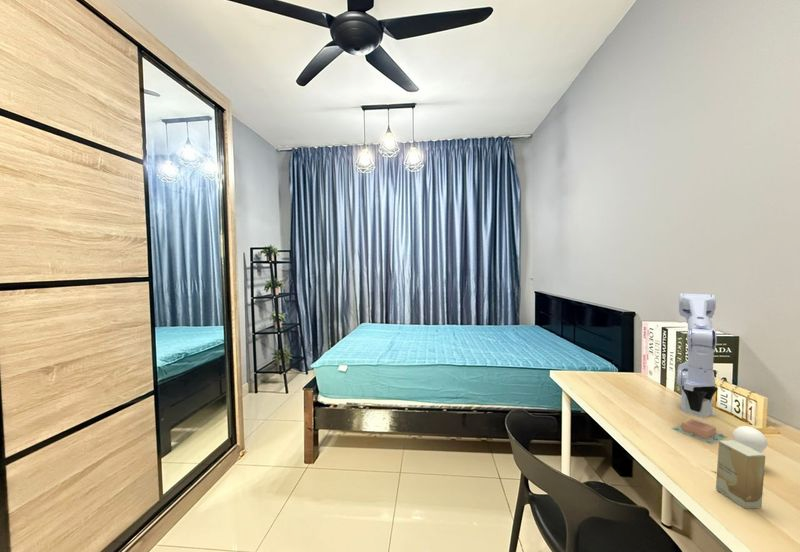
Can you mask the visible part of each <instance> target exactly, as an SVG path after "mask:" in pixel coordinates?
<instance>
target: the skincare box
mask: <svg viewBox="0 0 800 552" xmlns="http://www.w3.org/2000/svg"><path fill="white" fill-rule="evenodd" d="M717 451H718V452H717V465H716V466H717V467H716V480H715V481H716V483H715V489H716V491H718V492H720V494H722V495H724V496H725V497H727V498H728V499H730V500H731V501H732V502H734V503H735V504H737V505H738V506H740V507H741V508H743V509H747V510H748V509H761V508H762V503H763V494H764V493H763V491H764V480H765V479H764V478H765V466H766V465H765V464H766V455H765V454H764V453H762V452H761V453H759V452H757V451H755V450H753V449H752V448H750V447H748V446H745V445H743V444H741V443H739V442H737V441H735V440H734V439H732V440H731V439H727V440H725V439H722V440H720V441H718V450H717Z"/></svg>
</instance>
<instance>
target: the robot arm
mask: <svg viewBox="0 0 800 552" xmlns="http://www.w3.org/2000/svg"><path fill="white" fill-rule="evenodd" d="M716 305H717V297H716V295H714V293H711V294H705V293H703V294H702V293H683V292H681V293H680V294H678V313H679V316H681V317H683V318H685V320H686V323H687V333H686V344H687V361H684V362H683V363H680V364H679V365H678V366H677V370H676V371H677V375H676V376H677V377H676V382H677V383H676V384H677V385H678V387H681V395H680V396H681V398H680V399H681V400H680V401H681V403H680V409H681V411H682V412H683V413H685V397H687V399H688V402H689V406H690V409H691V410H694V411H697V412H700V410H701V406H702V401H703V399H704V398H705V399H708V400H710V416H713V417H716V416H717V415H716V413H713V402H714V399H713V397H714V395H715V394H716V393H717V392H718V390H719V388H718V387H716V378H715V372H714V353H715V350H714V349H716V347H717V342H718V341H717V339H718V338H717V333H716V332H717V331H716V330H715V328H713V323H712V320H711V319H712V318H713V316H714V315H715V311H716V308H717V306H716Z"/></svg>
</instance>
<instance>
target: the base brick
mask: <svg viewBox="0 0 800 552" xmlns="http://www.w3.org/2000/svg"><path fill="white" fill-rule="evenodd" d="M681 425H682V430H683V431H685V432H688V433H693V434H694V435H696V436H698V437H701V438H704V439H708V438H711V437H713V436H715V435H716V433H717V427H716V426H713V425H711V424H708V423H705V422H702V421H698V420H696V419H693V418H691V419H688V420H685V421H682V422H681Z"/></svg>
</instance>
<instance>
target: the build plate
mask: <svg viewBox="0 0 800 552" xmlns="http://www.w3.org/2000/svg"><path fill="white" fill-rule="evenodd" d="M671 430H673V431H676V432H678V433H681V434H683V435H686V436H689V437H691V438H694V439H695V440H699V441H701V442H703V443H704V442H705V443H707V444H710V445H714V444H715V443H719V441H723V440H725V439H727V438H728V436H725V434H723V433H718V432H716V435H715V436H713V437H711V438H708V439H704V438H701V437H698V436H696V435H694V434H693V433H688V432H685V431H683V430H682V424H679V425H677V426H674V427H672V428H671Z"/></svg>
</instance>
